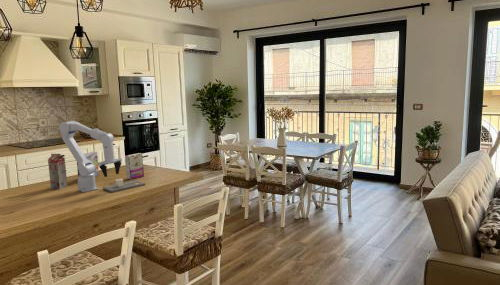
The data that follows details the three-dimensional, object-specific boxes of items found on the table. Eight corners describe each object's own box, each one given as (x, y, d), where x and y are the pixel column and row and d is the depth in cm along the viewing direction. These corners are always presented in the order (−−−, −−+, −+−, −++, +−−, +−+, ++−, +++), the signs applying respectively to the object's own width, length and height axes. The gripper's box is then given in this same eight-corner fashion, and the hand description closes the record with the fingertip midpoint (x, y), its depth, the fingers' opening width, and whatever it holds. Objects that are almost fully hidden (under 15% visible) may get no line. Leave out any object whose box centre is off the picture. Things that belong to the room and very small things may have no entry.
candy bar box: (139, 175, 256) (138, 152, 253) (144, 176, 253) (142, 153, 250) (126, 178, 247) (124, 155, 245) (130, 179, 244) (128, 156, 242)
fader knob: (118, 187, 221) (118, 180, 220) (115, 185, 224) (115, 179, 223) (123, 185, 223) (123, 179, 222) (120, 184, 226) (120, 178, 225)
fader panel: (111, 192, 214) (111, 190, 213) (103, 189, 222) (103, 187, 222) (145, 185, 229) (144, 183, 229) (135, 182, 237) (135, 180, 237)
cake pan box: (83, 182, 240) (81, 156, 237) (76, 182, 241) (74, 156, 238) (99, 175, 259) (97, 151, 256) (93, 175, 260) (91, 151, 257)
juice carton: (60, 189, 224) (56, 154, 221) (51, 188, 225) (47, 154, 222) (67, 186, 231) (64, 152, 227) (58, 186, 232) (55, 152, 229)
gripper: (100, 156, 208) (103, 178, 210) (123, 151, 219) (125, 173, 221) (94, 155, 213) (97, 177, 215) (117, 151, 224) (119, 172, 226)
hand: (111, 175), depth 218 cm, fingers open, 7 cm apart
